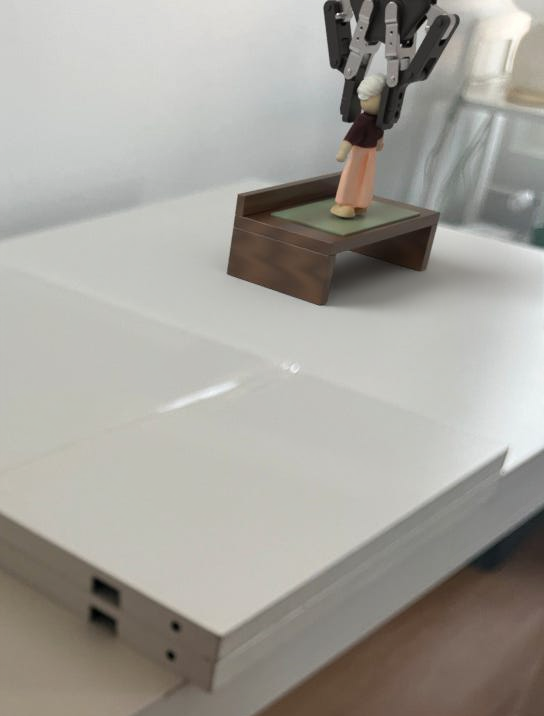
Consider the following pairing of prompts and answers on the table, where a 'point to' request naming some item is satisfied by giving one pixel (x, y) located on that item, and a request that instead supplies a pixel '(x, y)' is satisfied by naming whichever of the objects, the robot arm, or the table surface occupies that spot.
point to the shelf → (320, 236)
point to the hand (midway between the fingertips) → (367, 124)
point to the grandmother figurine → (361, 152)
